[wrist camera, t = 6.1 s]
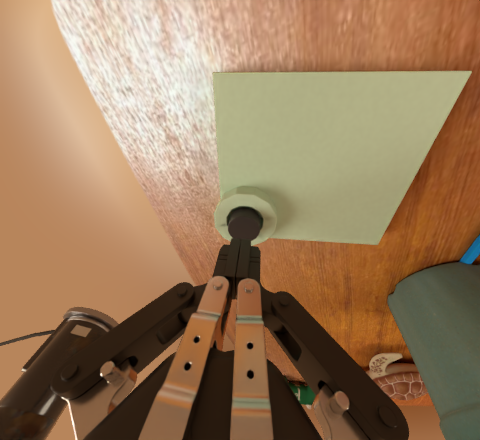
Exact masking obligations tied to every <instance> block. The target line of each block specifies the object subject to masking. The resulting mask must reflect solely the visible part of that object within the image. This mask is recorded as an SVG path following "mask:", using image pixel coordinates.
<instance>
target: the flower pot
mask: <svg viewBox="0 0 480 440" xmlns="http://www.w3.org/2000/svg"><path fill="white" fill-rule="evenodd" d="M388 306H389V308H390V311H391V313H392V315H393V317H394V319H395V321H396V323H397V326H398V328H399V330H400V332H401V334H402V337H403V339H404V341H405V343H406V345H407V347H408V349H409V352H410V354H411V356H412V358H413V360H414V363H415V365H416V367H417V369H418V371H419V373H420V376H421V378H422V380H423V382H424V384H425V387H426V389H427V391H428V393H429V395H430V397H431V400H432V402H433V404H434V406H435V409H436V411H437V413H438V415H439V418H440V428H441V430H442V433H443V435H444V437H445V439H446V440H480V264H478V265H471V264H466V263H462V262H455V263H448V264H442V265H438V266H434V267H430V268H427V269H424V270H421V271H418V272H416V273H414V274H412V275H410V276H408V277H407V278H405V279H403V280H402V281H401V282H399V283H398V284H397V285H396V289H395V291H394V293H393V294H389V296H388Z"/></svg>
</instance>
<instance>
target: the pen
mask: <svg viewBox="0 0 480 440" xmlns="http://www.w3.org/2000/svg"><path fill="white" fill-rule="evenodd" d="M479 254H480V235H479V236H478V237H477V238H476V240H475V241H474V242H473V244H472V245H471V246H470V248H469V249H468V250H467V252H466V253H465V254H464V255H463V257H462V258H461V259H460V261H459V262H462V263H466V264H472V263H473V261H474V260H475V259H476V258H477V257H478V255H479Z"/></svg>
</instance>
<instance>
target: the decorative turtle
mask: <svg viewBox="0 0 480 440" xmlns="http://www.w3.org/2000/svg"><path fill="white" fill-rule="evenodd" d="M402 357H403V356H402V354H401V353H398V352H389V353H380V354H377V355H375V356H374V357H373V358H372V359H371V361H370V363H369V367H370V370H368V371H365V372H366V373H367V374H368V376H369V377H370V378H371V379H372V380H373V381H374V382H375V383H376V384H377V385H378V386H379V387H380V388H381V389H382V390H383V391H384V392H385V393H386V394H387V395H388V396H389V398H394V399H400V400H411V399H414V398H418V397H420V396H423V395H425V394H427V393H428V391H427V389H426V387H425V384H424V382H423V380H422V378H421V376H420V373H419V371H418V369H417V367H416V365H414V364H407V363H391V362H393V361H396V360H398V359H400V358H402ZM389 363H391V364H389Z"/></svg>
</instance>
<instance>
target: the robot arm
mask: <svg viewBox="0 0 480 440" xmlns="http://www.w3.org/2000/svg"><path fill="white" fill-rule="evenodd" d="M232 299H236V300H237V314H236V327H235V350H233V351H227V352H222V348H223V340H224V335H225V331H226V326H227V322H228V318H229V313H230V308H231V302H232ZM264 326H265V327H267V328H268V329H269V331H270V333H271V334H272V335H273V337H274V338H275V339H276V341H277V342H278V344H279V345H280V346H281V348H282V349H283V351H284V352H285V353H286V355H287V356H288V358H289V359H290V360H291V362H292V363H293V364H294V366H295V367H296V369H297V370H298V371H299V373H300V374H301V376H302V377H303V378H304V380H305V381H306V383H307V384H308V385H309V387H310V388H311V389H312V391H313V392H314V394H315V395H316V397H315V399H314V411H315V415H316V418H317V420H318V421H319V423H320V425H321V428H322V430H323V433H324V439H325V440H408V437H409V428H408V424H407V422H406V419H405V417H404V415H403V413H402V412H401V410H400V409H399V407H398V406H397V405H396V404H395V403H394V402H393V401H392V400H391V399H390V398H389V396H388V395H387V394H386V393H385V392H384V391H383V390H382V389H381V388H380V387H379V386H378V385H377V384H376V383H375V382H374V381H373V380H372V379H371V378H370V377H369V376H368V374H367V373H366V372H365V371H364V370H363V369H362V368H361V367H360V366H359V365H358V364H357V363H356V362H355V361H354V360H353V359H352V358H351V357H350V356H349V355H348V354H347V352H346V351H345V350H344V349H343V348H342V347H341V346H340V345H339V344H338V343H337V342H336V341H335V340H334V339H333V338H332V337H331V336H330V335H329V334H328V333H327V332H326V331H325V329H324V328H323V327H322V326H321V325H320V324H319V323H318V322H317V321H316V320H315V319H314V318H313V317H312V316H311V315H310V314H309V313H308V312H307V311H306V310H305V309H304V307H303V306H302V305H301V304H300V303H299V302H298V301H297V300H296V299H295V298H294V297H293V296H292V295H291V294H289V293H287V292H284V291H280V292H277V293H275V294H274V293H272V292H269V291H267V290H266V289H264V288H263V286H262V285H261V283H260V250H259V248H258V247H254V246H251V239H242V240H241V239H237V238H231V242H230V245H225V244H224V245H223V246H222V247H221V249H220V251H219V255H218V259H217V262H216V266H215V269H214V273H213V276H212V278H211V279H210V280H209V281H208V283H206V284H204V285H200V286H195V287H193V286H192V285H191V284H190V283H187V282H183V283H179V284H177V285H176V286H174V287H173V288H171V289H170V290H168V291H167V292H165V293H164V294H163V295H161V296H160V297H158V298H157V299H155V300H154V301H152V302H151V303H149V304H148V305H146V306H145V307H144V308H142V309H141V310H139V311H138V312H136V313H135V314H133V315H132V316H130V317H129V318H127V319H126V320H125V321H123V322H122V323H120V324H119V325H117V326H116V327H114V328H113V329H110V328H109V327H108V326H107V325H105V324H104V323H102V322H100V321H98V320H96V319H93V318H90V317H86V316H72V317H70V318H65V319H64V320H63V322H62V323H61V324H60V325H59V326H58V327H57V329H56V330H51V331H46V332H40V333H34V334H30V335H27V336H23V337H20V338H16V339H12V340H9V341H6V342H2V343H0V346H2V345H5V344H9V343H12V342H16V341H19V340H24V339H27V338H31V337H35V336H42V335H47V334H51V335H50V337H49V338H48V339H47V340H46V341H45V343H43V345H42V346H41V347H40V348H39V349H38V350H37V352H36V353H35V354H34V355H33V356H32V357H31V359H30V360H29V361H28V362H27V363H26V364H25V365H24V367H23V368H22V372H24V373H23V374H22V375H21V377H20V378H19V379H18V380H17V381H16V383H15V384H14V385H13V386H12V388H11V389H10V390H9V391H8V392H7V393H6V394H5V396H4V397H3V398H2V399H1V400H0V440H46V438H47V437H48V435H49V433H50V432H51V430H52V428H53V427H54V425H55V424H56V422H57V420H58V419H59V417H60V416H61V414H62V412H63V411H64V409H65V408H66V406H67V404H68V405H69V410H70V414H71V419H72V424H73V428H74V433H75V438H76V440H323V439H322V438H321V436H320V435H319V433H318V432H317V430H316V428H315V427H314V425H313V423H312V422H311V420H310V419H309V417H308V415H307V414H306V412H305V410H304V409H303V407H302V406H301V404H300V402H299V400H298V399H297V397H296V396H295V394H294V392H293V391H292V389H291V387H290V386H289V384H288V383H287V381H286V379H285V378H284V376H283V375H282V373H281V372H280V370H279V369H278V368H277V367H276V366H275V365H274V364H273V363H272V362H271V361H269V360H268V359H266V346H265V332H264ZM182 335H183V337H182V339H181V342H180V344H179V347H178V349H177V352H175V353H173V354H172V355H170V356H169V357H168V358H167V359H165V360H164V361H163V362H162V363H161V364H160V365H159V366H158V367H157V368H156V369H155V370H154V371H153V372H152V373H151V374H150V375H149V376H148V377H147V378H146V379H145V380H144V381H143V382H141V383H140V384H139V385H138V387H136V388H135V389H134V390H133V391H132V392H131V390H132V389H133V387H134V385H135V383H136V380H137V374H138V373H139V372H141V371H142V370H143V369H144V368H145V367H146V366H147V365H149V364H150V363H151V362H152V361H153V360H154V359H155V358H156V357H158V356H159V355H160V354H161V353H162V352H163V351H164V350H166V349H167V348H168V347H169V346H170V345H171V344H172V343H174V342H175V341H176V340H177V339H178V338H179V337H180V336H182ZM130 392H131V393H130ZM129 393H130V394H129ZM128 394H129V395H128ZM127 395H128V396H127ZM126 396H127V397H126ZM125 397H126V398H125Z"/></svg>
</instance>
